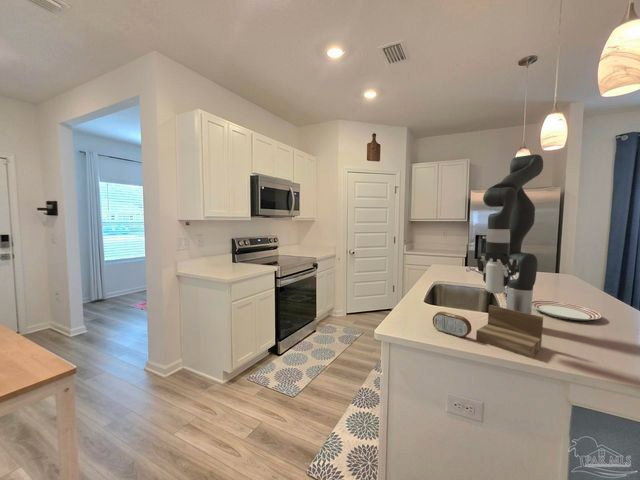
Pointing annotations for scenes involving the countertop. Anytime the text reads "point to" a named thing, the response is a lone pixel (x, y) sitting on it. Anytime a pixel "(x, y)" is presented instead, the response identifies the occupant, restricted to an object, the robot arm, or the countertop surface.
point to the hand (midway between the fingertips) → (495, 284)
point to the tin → (451, 324)
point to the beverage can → (495, 278)
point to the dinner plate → (565, 310)
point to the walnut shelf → (512, 331)
